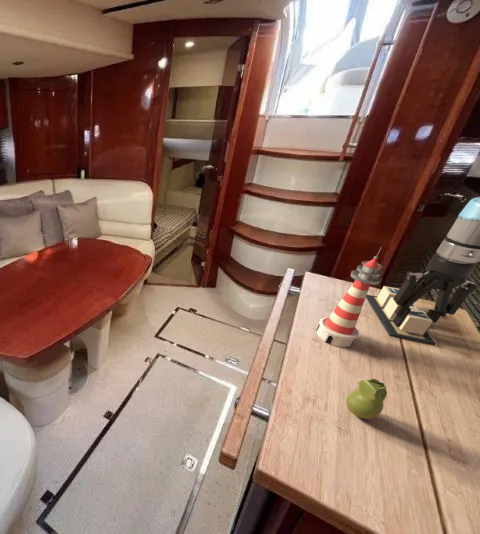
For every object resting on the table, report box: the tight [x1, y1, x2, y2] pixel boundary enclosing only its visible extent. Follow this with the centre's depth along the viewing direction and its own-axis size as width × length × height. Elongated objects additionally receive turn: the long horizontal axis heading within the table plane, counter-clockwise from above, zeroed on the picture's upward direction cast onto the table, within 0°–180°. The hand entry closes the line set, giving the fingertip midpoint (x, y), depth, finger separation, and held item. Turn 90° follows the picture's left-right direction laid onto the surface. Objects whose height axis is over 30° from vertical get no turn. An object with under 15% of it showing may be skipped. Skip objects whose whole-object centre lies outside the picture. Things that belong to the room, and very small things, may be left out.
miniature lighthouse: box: [316, 246, 384, 348], centre depth 82 cm, size 9×9×30 cm
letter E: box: [384, 297, 420, 319], centre depth 95 cm, size 5×5×5 cm
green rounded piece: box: [345, 378, 388, 420], centre depth 67 cm, size 6×5×10 cm
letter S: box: [377, 285, 400, 307], centre depth 100 cm, size 5×5×5 cm
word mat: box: [365, 294, 437, 346], centre depth 96 cm, size 10×22×1 cm, turn 156°
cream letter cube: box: [399, 309, 433, 335], centre depth 89 cm, size 5×5×5 cm
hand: (408, 326), depth 90 cm, fingers closed on cream letter cube, 5 cm apart
